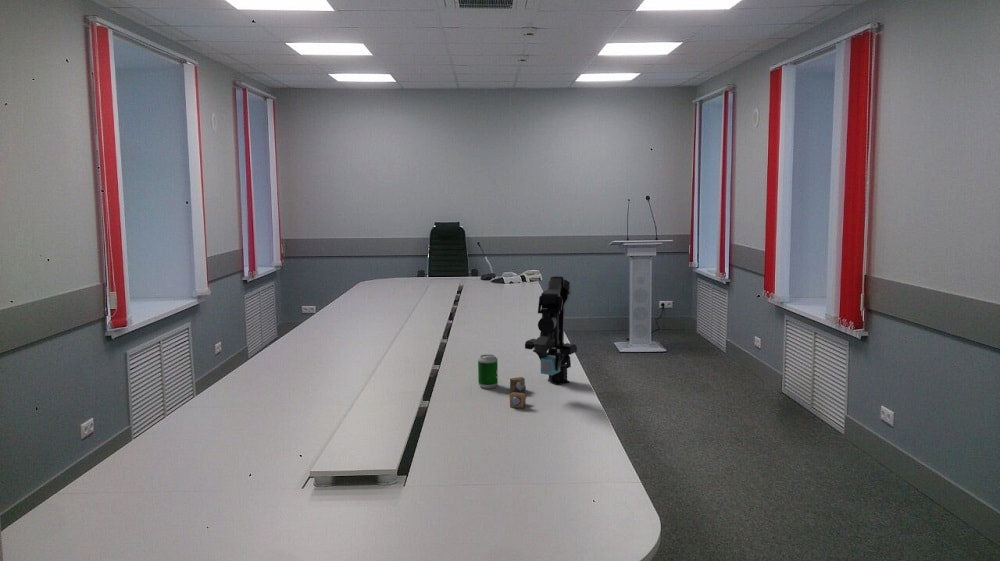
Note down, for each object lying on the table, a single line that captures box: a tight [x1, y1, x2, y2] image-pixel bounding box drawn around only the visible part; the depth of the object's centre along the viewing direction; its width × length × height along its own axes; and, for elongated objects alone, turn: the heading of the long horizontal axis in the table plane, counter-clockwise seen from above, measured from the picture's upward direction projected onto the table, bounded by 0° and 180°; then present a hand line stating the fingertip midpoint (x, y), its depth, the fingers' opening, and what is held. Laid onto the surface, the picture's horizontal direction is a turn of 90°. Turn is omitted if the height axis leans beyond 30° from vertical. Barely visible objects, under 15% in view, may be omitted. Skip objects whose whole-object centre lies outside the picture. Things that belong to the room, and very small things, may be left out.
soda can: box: [477, 354, 499, 389], centre depth 252 cm, size 8×8×12 cm
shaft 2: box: [509, 392, 527, 410], centre depth 229 cm, size 7×5×5 cm
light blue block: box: [540, 355, 560, 376], centre depth 235 cm, size 6×5×6 cm
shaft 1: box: [509, 376, 527, 393], centre depth 245 cm, size 7×5×5 cm
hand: (550, 369), depth 236 cm, fingers closed on light blue block, 5 cm apart
